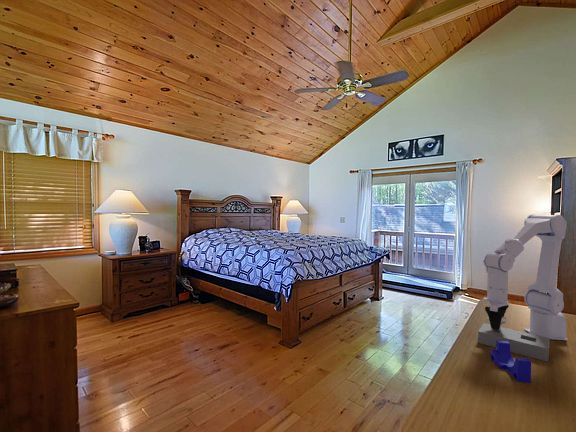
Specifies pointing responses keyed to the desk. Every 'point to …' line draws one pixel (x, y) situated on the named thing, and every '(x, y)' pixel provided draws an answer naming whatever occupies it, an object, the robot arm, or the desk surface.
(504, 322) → the headed pin
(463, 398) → the desk surface
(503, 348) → the cable clip
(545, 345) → the grey flat block
